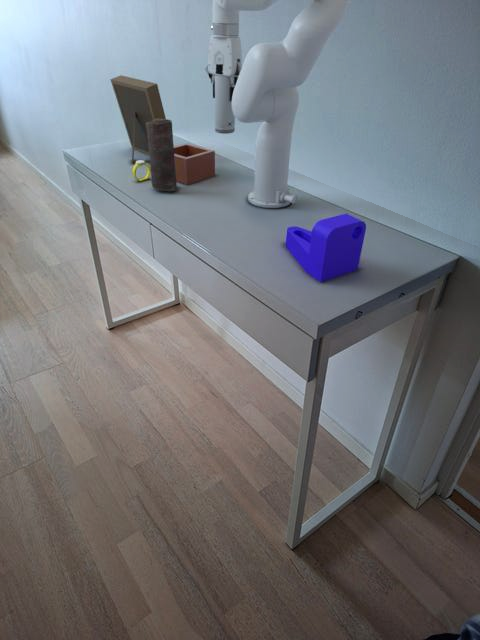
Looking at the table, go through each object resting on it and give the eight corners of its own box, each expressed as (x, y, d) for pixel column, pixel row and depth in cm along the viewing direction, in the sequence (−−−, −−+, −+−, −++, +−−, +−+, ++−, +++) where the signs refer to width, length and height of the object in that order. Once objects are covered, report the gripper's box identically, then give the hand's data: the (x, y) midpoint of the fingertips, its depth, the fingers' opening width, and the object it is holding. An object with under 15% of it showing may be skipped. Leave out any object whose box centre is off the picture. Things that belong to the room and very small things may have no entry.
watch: (147, 177, 147) (146, 158, 143) (152, 179, 145) (151, 160, 142) (132, 181, 143) (129, 162, 140) (137, 183, 142) (134, 164, 138)
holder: (215, 175, 150) (215, 150, 145) (187, 185, 142) (186, 159, 137) (187, 167, 157) (186, 143, 152) (159, 175, 148) (157, 150, 144)
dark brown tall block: (160, 195, 134) (154, 123, 122) (147, 188, 138) (140, 118, 127) (181, 190, 138) (178, 120, 126) (168, 183, 142) (164, 115, 131)
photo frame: (141, 146, 175) (134, 74, 161) (175, 160, 163) (171, 82, 148) (107, 153, 167) (96, 77, 152) (140, 167, 154) (132, 86, 140)
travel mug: (235, 134, 144) (236, 62, 132) (214, 133, 144) (214, 61, 132) (235, 129, 149) (237, 59, 137) (215, 128, 149) (215, 58, 137)
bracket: (357, 269, 101) (367, 219, 94) (320, 281, 96) (328, 230, 89) (305, 238, 113) (311, 192, 106) (270, 248, 108) (273, 200, 101)
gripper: (195, 29, 133) (196, 96, 143) (240, 33, 124) (238, 105, 134) (212, 28, 137) (212, 94, 148) (257, 32, 129) (254, 101, 139)
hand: (225, 98), depth 141 cm, fingers closed on travel mug, 6 cm apart
